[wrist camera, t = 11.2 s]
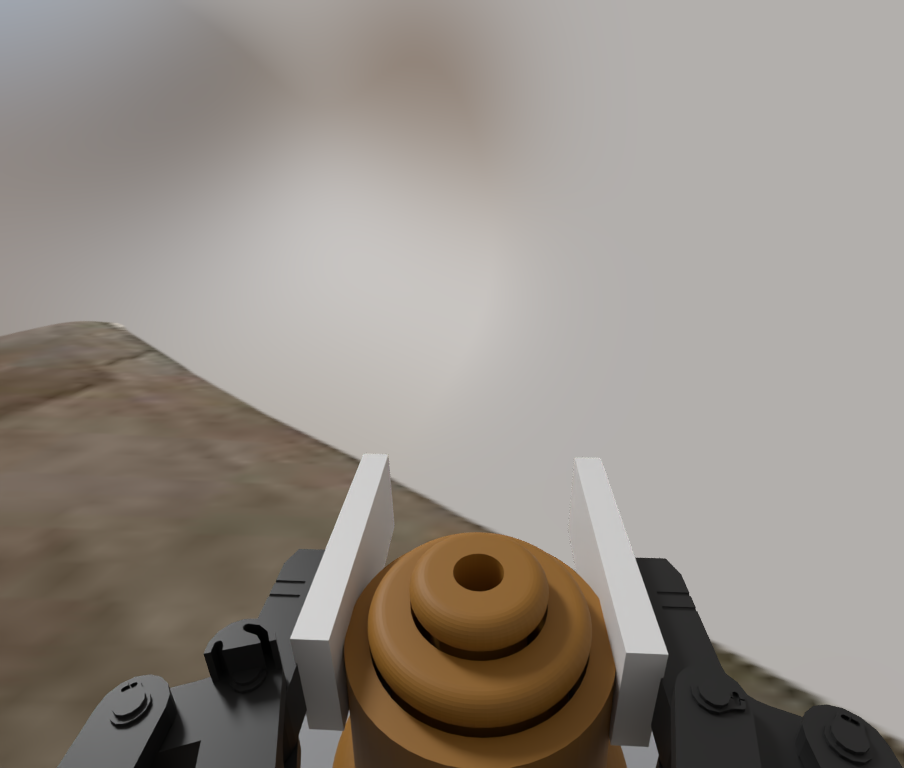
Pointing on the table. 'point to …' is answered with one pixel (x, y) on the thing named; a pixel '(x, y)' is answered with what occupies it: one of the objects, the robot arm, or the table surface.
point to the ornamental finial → (478, 662)
